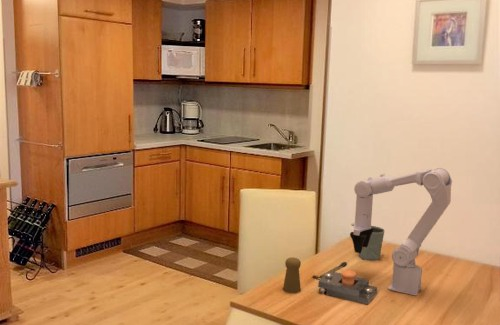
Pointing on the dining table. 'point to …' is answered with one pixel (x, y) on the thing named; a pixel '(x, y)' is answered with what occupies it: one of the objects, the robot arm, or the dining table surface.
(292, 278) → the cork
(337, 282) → the link upper
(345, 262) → the tomahawk
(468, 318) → the dining table surface
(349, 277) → the pin
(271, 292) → the dining table surface
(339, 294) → the link lower
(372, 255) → the green cup
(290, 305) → the dining table surface
